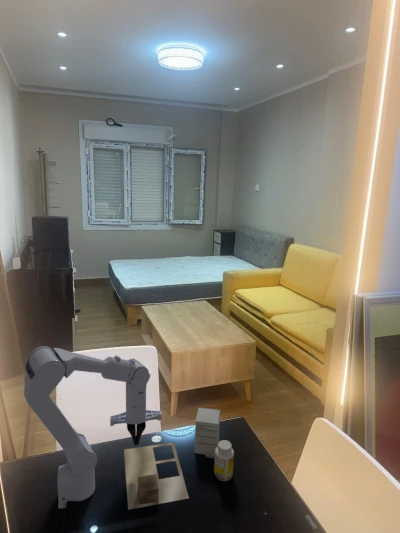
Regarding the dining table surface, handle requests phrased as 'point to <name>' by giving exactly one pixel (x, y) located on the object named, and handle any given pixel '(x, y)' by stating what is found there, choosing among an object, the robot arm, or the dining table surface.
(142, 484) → the walnut block
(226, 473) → the supplement bottle
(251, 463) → the dining table surface
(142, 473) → the board
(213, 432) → the supplement box
